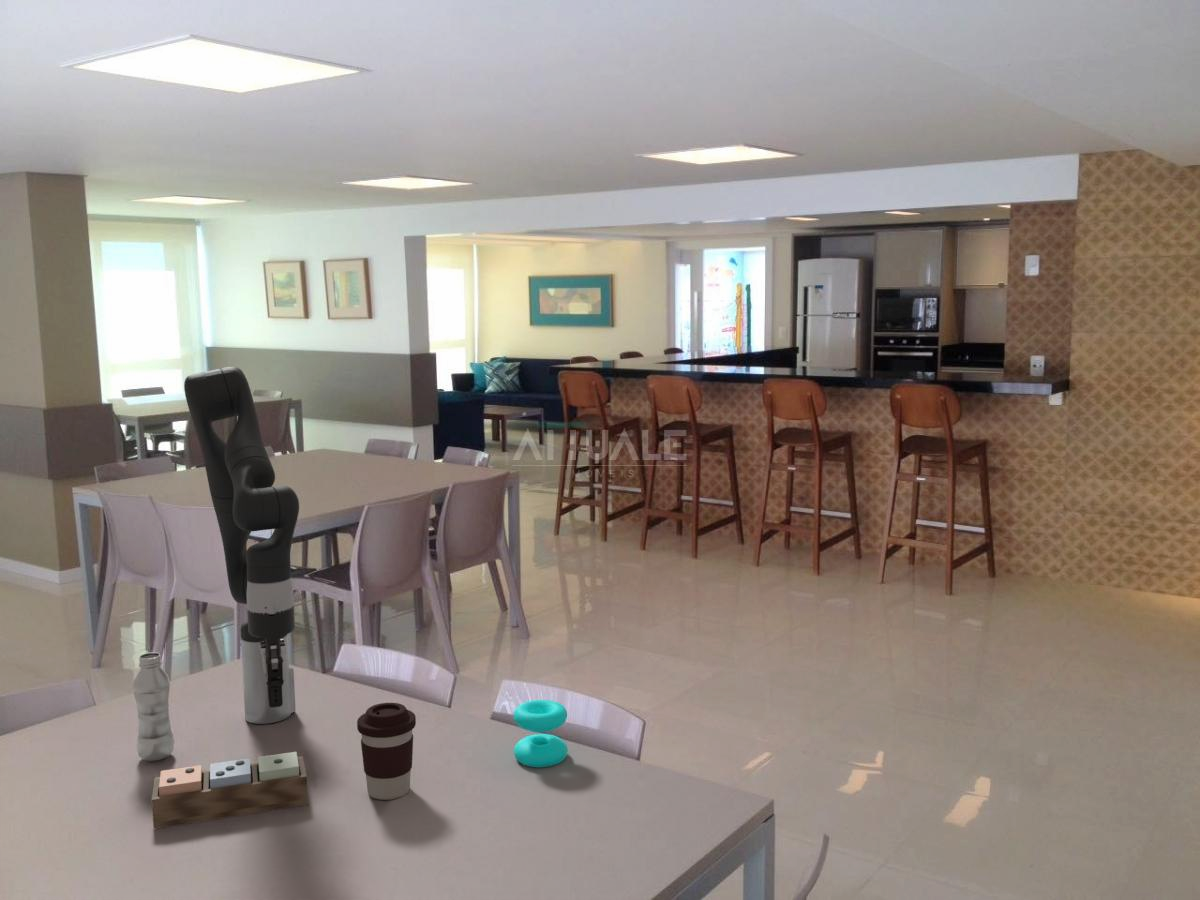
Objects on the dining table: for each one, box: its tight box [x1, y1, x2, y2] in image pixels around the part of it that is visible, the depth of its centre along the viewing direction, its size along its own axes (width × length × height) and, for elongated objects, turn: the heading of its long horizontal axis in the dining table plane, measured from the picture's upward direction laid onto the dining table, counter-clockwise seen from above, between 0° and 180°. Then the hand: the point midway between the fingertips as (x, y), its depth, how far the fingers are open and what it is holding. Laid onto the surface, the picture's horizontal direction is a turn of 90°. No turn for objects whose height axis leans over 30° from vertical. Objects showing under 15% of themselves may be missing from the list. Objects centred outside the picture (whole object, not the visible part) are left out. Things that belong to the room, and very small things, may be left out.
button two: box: [159, 764, 203, 797], centre depth 174 cm, size 6×6×3 cm
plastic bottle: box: [132, 651, 175, 762], centre depth 195 cm, size 6×7×20 cm
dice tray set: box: [151, 755, 309, 829], centre depth 177 cm, size 24×9×5 cm, turn 110°
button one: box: [257, 751, 299, 781], centre depth 179 cm, size 6×6×3 cm
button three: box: [209, 758, 251, 789], centre depth 177 cm, size 6×6×3 cm
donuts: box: [513, 699, 569, 768], centre depth 195 cm, size 10×10×10 cm
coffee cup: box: [356, 702, 417, 801], centre depth 181 cm, size 10×10×15 cm
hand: (275, 702), depth 178 cm, fingers open, 2 cm apart
